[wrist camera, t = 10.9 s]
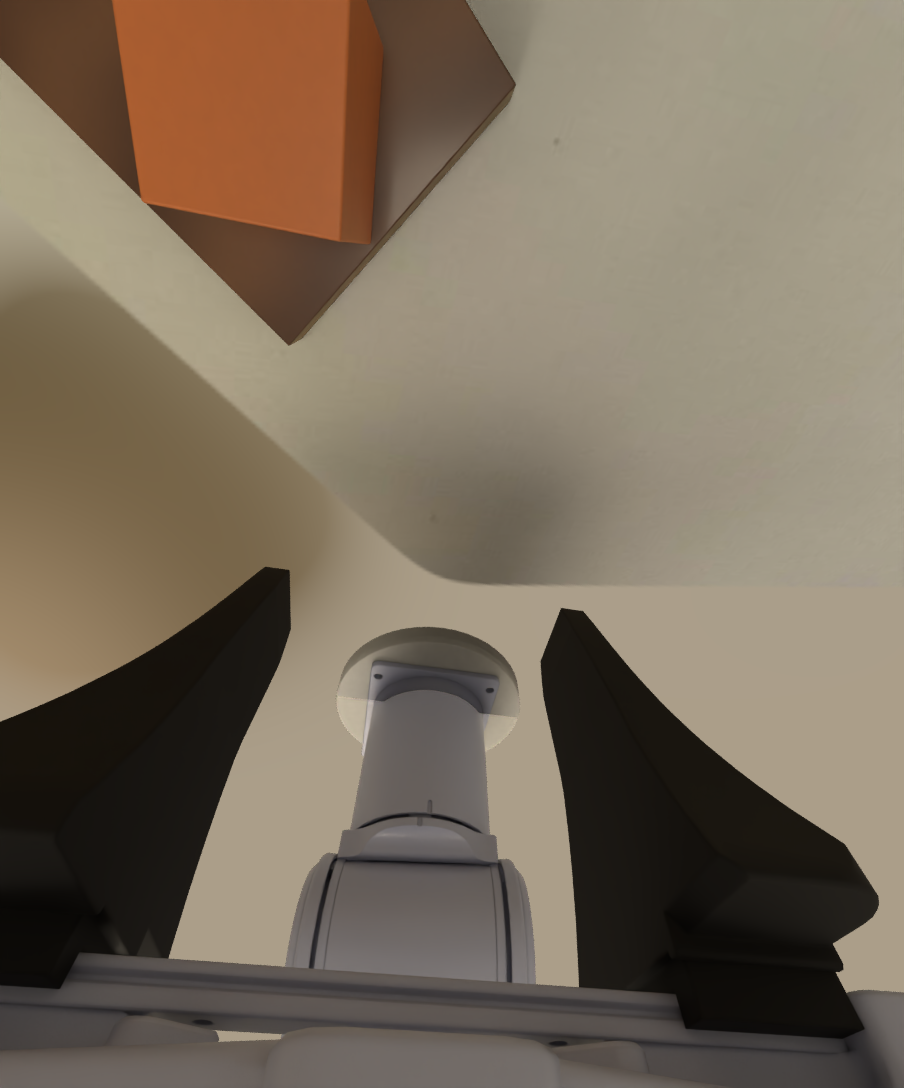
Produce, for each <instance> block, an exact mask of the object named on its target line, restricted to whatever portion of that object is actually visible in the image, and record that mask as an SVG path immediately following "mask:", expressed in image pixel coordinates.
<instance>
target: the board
mask: <svg viewBox="0 0 904 1088" xmlns="http://www.w3.org/2000/svg"><path fill="white" fill-rule="evenodd" d="M367 3H368V5H369V8H370V11H371V14H372V17H373V19H374V22H375V25H376V28H377V31H378V34H379V36H380V39H381V42H382V45H383V64H382V79H381V94H380V109H379V125H378V140H377V155H376V170H375V185H374V200H373V215H372V230H371V242H370V244H358V243H348V242H338V241H333V240H328V239H323V238H318V237H313V236H307V235H302V234H297V233H292V232H287V231H282V230H277V229H272V228H267V227H262V226H257V225H252V224H247V223H242V222H237V221H232V220H227V219H222V218H217V217H212V216H207V215H202V214H197V213H192V212H187V211H182V210H177V209H172V208H167V207H162V206H157V205H152V204H147V203H146V204H147V205H148V206H149V207H150V208H151V209H152V210H153V211H154V212H155V213H156V214H157V215H158V216H159V217H160V218H161V219H162V220H163V221H164V222H165V223H166V224H167V225H168V226H169V227H170V228H171V229H172V230H173V231H174V232H175V233H176V234H177V235H178V236H179V237H180V238H181V239H182V240H183V241H184V242H185V243H186V244H187V245H188V246H189V247H190V248H191V249H192V250H193V251H194V252H195V253H196V254H197V255H198V256H199V257H200V258H201V259H202V260H203V261H204V262H205V263H206V264H207V265H208V266H209V267H210V268H211V269H212V270H213V271H214V272H215V273H216V274H217V275H218V276H219V277H220V278H221V279H222V280H223V281H224V282H225V283H226V284H227V285H228V286H229V287H230V288H231V289H232V290H233V291H234V292H235V293H236V294H237V295H238V296H239V297H240V298H241V299H242V300H243V301H244V302H245V303H246V304H247V305H248V306H249V307H250V308H251V309H252V310H253V311H254V312H255V313H256V314H257V315H258V316H259V317H260V318H261V319H262V320H264V321H265V322H266V323H267V324H268V325H269V326H270V327H271V328H272V329H273V330H274V331H275V332H276V333H277V334H278V335H279V336H280V337H281V338H282V339H283V340H284V341H285V342H286V343H287V344H288V345H291V344H293V343H295V342H297V341H299V340H300V339H302V338H303V337H304V335H305V334H306V333H307V332H308V331H309V330H310V329H311V327H312V326H313V325H314V324H315V323H316V322H317V321H318V319H319V318H320V317H321V316H322V315H323V314H324V313H325V311H326V310H327V309H328V308H329V307H330V306H331V305H332V303H333V302H334V301H335V300H336V299H337V298H338V297H339V295H340V294H341V293H342V292H343V291H344V290H345V289H346V287H347V286H348V285H349V284H350V283H351V282H352V281H353V279H354V278H355V277H356V276H357V275H358V274H359V273H360V271H361V270H362V269H363V268H364V267H365V266H366V265H367V264H368V262H369V261H370V260H371V259H372V258H373V257H374V256H375V254H376V253H377V252H378V251H379V250H380V249H381V248H382V246H383V245H384V244H385V243H386V242H387V241H388V240H389V238H390V237H391V236H392V235H393V234H394V233H395V232H396V230H397V229H398V228H399V227H400V226H401V225H402V224H403V222H404V221H405V220H406V219H407V218H408V217H409V216H410V214H411V213H412V212H413V211H414V210H415V209H416V208H417V206H418V205H419V204H420V203H421V202H422V201H423V200H424V198H425V197H426V196H427V195H428V194H429V193H430V192H431V190H432V189H433V188H434V187H435V186H436V185H437V184H438V182H439V181H440V180H441V179H442V178H443V177H444V176H445V174H446V173H447V172H448V171H449V170H450V169H451V168H452V167H453V165H454V164H455V163H456V162H457V161H458V160H459V159H460V157H461V156H462V155H463V154H464V153H465V152H466V151H467V149H468V148H469V147H470V146H471V145H472V144H473V143H474V141H475V140H476V139H477V138H478V137H479V136H480V135H481V133H482V132H483V131H484V130H485V129H486V128H487V127H488V125H489V124H490V123H491V122H492V121H493V120H494V119H495V117H496V116H497V115H498V114H499V113H500V112H501V111H502V109H503V108H504V107H505V106H506V105H507V104H508V103H509V101H510V100H511V97H512V94H513V91H514V88H515V86H516V84H515V82H514V80H513V78H512V77H511V75H510V73H509V72H508V70H507V69H506V67H505V65H504V64H503V62H502V60H501V59H500V57H499V55H498V54H497V52H496V50H495V49H494V47H493V45H492V44H491V42H490V40H489V39H488V37H487V35H486V34H485V32H484V30H483V29H482V27H481V25H480V24H479V22H478V20H477V19H476V17H475V15H474V14H473V12H472V10H471V9H470V7H469V5H468V4H467V2H466V0H367ZM0 58H1V59H2V60H3V61H4V62H5V63H6V64H7V65H8V66H9V67H10V68H11V69H12V70H13V71H14V72H15V73H16V74H17V75H18V76H19V77H20V78H21V79H22V80H23V81H24V82H25V83H26V84H27V85H28V86H29V87H30V88H31V89H32V90H33V91H34V92H35V93H36V94H37V95H38V96H39V97H40V98H41V99H42V100H43V101H44V102H45V103H46V104H47V105H48V106H49V107H50V108H51V109H52V110H53V111H54V112H55V113H56V114H57V115H58V116H59V117H60V118H61V119H62V120H63V121H64V122H65V123H66V124H67V125H68V126H69V127H70V128H71V129H72V130H73V131H74V132H75V133H76V134H77V135H78V136H79V137H80V138H81V139H82V140H83V141H84V142H85V143H86V144H87V145H88V146H89V147H90V148H91V149H92V150H93V151H94V152H95V153H96V154H97V155H98V156H99V157H100V158H101V159H102V160H103V161H104V162H105V163H106V164H107V165H108V166H109V167H110V168H111V169H112V170H113V171H114V172H115V173H116V174H117V175H118V176H119V177H120V178H121V179H122V180H123V181H124V182H125V183H126V184H127V185H128V186H129V187H130V188H131V189H132V190H133V191H134V192H135V193H136V194H137V195H138V196H139V197H140V198H141V195H140V188H139V181H138V175H137V168H136V161H135V154H134V147H133V140H132V134H131V127H130V120H129V113H128V106H127V99H126V93H125V86H124V79H123V72H122V65H121V58H120V52H119V45H118V38H117V31H116V24H115V18H114V11H113V4H112V0H0Z"/></svg>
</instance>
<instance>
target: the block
mask: <svg viewBox="0 0 904 1088" xmlns="http://www.w3.org/2000/svg"><path fill="white" fill-rule="evenodd" d="M112 4H113V11H114V18H115V24H116V31H117V38H118V45H119V52H120V58H121V65H122V72H123V79H124V86H125V93H126V99H127V106H128V113H129V120H130V127H131V134H132V140H133V147H134V154H135V161H136V168H137V175H138V181H139V188H140V195H141V199H142V201H143V202H144V203H147V204H152V205H157V206H162V207H167V208H172V209H177V210H182V211H187V212H192V213H197V214H202V215H207V216H212V217H217V218H222V219H227V220H232V221H237V222H242V223H247V224H252V225H257V226H262V227H267V228H272V229H277V230H282V231H287V232H292V233H297V234H302V235H307V236H313V237H318V238H323V239H328V240H333V241H338V242H348V243H358V244H370V242H371V230H372V215H373V200H374V185H375V170H376V155H377V140H378V125H379V109H380V94H381V79H382V64H383V45H382V42H381V39H380V36H379V34H378V31H377V28H376V25H375V22H374V19H373V17H372V14H371V11H370V8H369V5H368V3H367V0H112Z"/></svg>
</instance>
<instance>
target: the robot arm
mask: <svg viewBox="0 0 904 1088" xmlns="http://www.w3.org/2000/svg"><path fill="white" fill-rule="evenodd" d="M290 630H291V617H290V572H289V570H285V569H278V568H270V567H264V568H263V569H262V570H260V571H259V572H258V573H256V574H255V575H254V576H253V577H251V578H250V579H249V580H248V581H246V582H245V583H244V584H243V585H241V586H240V587H239V588H238V589H236V590H235V591H234V592H233V593H231V594H230V595H229V596H227V597H226V598H225V599H224V600H222V601H221V602H220V603H218V604H217V605H216V606H214V607H213V608H212V609H211V610H209V611H208V612H206V613H205V614H204V615H202V616H201V617H200V618H198V619H197V620H195V621H194V622H192V623H191V624H189V625H188V626H187V627H185V628H184V629H182V630H181V631H179V632H178V633H176V634H175V635H173V636H172V637H170V638H169V639H167V640H166V641H164V642H163V643H161V644H160V645H158V646H156V647H155V648H153V649H151V650H150V651H148V652H146V653H145V654H143V655H141V656H139V657H138V658H136V659H134V660H132V661H131V662H129V663H127V664H125V665H123V666H121V667H120V668H118V669H116V670H114V671H112V672H110V673H108V674H106V675H104V676H102V677H100V678H98V679H96V680H94V681H92V682H90V683H88V684H86V685H84V686H82V687H80V688H78V689H76V690H74V691H71V692H69V693H67V694H65V695H63V696H60V697H58V698H56V699H54V700H51V701H49V702H47V703H45V704H42V705H40V706H38V707H35V708H33V709H31V710H28V711H26V712H23V713H21V714H18V715H16V716H14V717H11V718H9V719H6V720H3V721H1V722H0V1088H904V993H903V992H889V991H875V990H858V991H853V992H848V993H846V992H845V990H844V988H843V986H842V984H841V982H840V980H839V978H838V976H837V974H836V972H840V971H842V970H843V963H842V961H841V959H840V957H839V955H838V953H837V951H836V950H835V948H834V946H833V943H834V942H836V941H838V940H839V939H840V938H842V937H844V936H845V935H847V934H849V933H850V932H852V931H854V930H855V929H857V928H858V927H860V926H861V925H863V924H864V923H866V922H867V921H868V920H869V919H871V918H872V917H873V916H874V914H875V912H876V911H877V909H878V906H879V900H878V895H877V893H876V892H875V890H874V889H873V887H872V886H871V884H870V882H869V881H868V879H867V878H866V876H865V875H864V873H863V872H862V870H861V869H860V867H859V866H858V864H857V862H856V861H855V859H854V858H853V856H852V855H851V853H850V852H849V850H848V848H847V847H846V846H845V844H844V843H842V842H840V841H839V840H838V839H836V838H835V837H833V836H831V835H830V834H828V833H827V832H825V831H824V830H822V829H821V828H819V827H818V826H816V825H814V824H813V823H811V822H810V821H808V820H807V819H805V818H804V817H802V816H801V815H799V814H797V813H796V812H794V811H793V810H791V809H790V808H788V807H787V806H786V805H784V804H783V803H781V802H780V801H779V800H777V799H776V798H774V797H773V796H772V795H770V794H769V793H767V792H766V791H765V790H763V789H762V788H760V787H759V786H758V785H756V784H755V783H754V782H752V781H751V780H750V779H748V778H747V777H746V776H744V775H743V774H742V773H740V772H739V771H738V770H736V769H735V768H734V767H733V766H732V765H730V764H729V763H728V762H727V761H725V760H724V759H723V758H722V757H721V756H719V755H718V754H717V753H716V752H715V751H713V750H712V749H711V748H710V747H708V746H707V745H706V744H705V743H704V742H703V741H701V740H700V739H699V738H698V737H697V736H696V735H695V734H694V733H693V732H691V731H690V730H689V729H688V728H687V727H686V726H685V725H684V724H683V723H682V722H681V721H680V720H679V719H678V718H677V717H675V716H674V715H673V714H672V713H671V712H670V711H669V710H668V709H667V708H666V707H665V706H664V705H663V704H662V703H661V702H660V701H659V700H658V699H657V697H656V696H655V695H654V694H653V693H652V692H651V691H650V690H649V689H648V688H647V687H646V686H645V685H644V683H643V682H642V681H641V680H640V679H639V678H638V677H637V676H636V675H635V673H634V672H633V671H632V670H631V669H630V668H629V666H628V665H627V664H626V663H625V662H624V661H623V659H622V658H621V657H620V656H619V655H618V653H617V652H616V651H615V650H614V649H613V647H612V646H611V645H610V644H609V642H608V641H607V640H606V639H605V637H604V636H603V635H602V634H601V632H600V631H599V630H598V629H597V628H596V626H595V625H594V624H593V622H592V621H591V620H590V619H589V618H588V616H587V615H586V614H585V613H584V612H583V611H578V610H571V609H564V608H561V610H560V612H559V615H558V618H557V620H556V623H555V626H554V628H553V631H552V633H551V636H550V638H549V641H548V644H547V646H546V649H545V651H544V654H543V657H542V659H541V675H542V686H543V696H544V701H545V706H546V711H547V715H548V720H549V725H550V730H551V734H552V739H553V743H554V748H555V752H556V757H557V761H558V766H559V770H560V775H561V780H562V786H563V792H564V799H565V807H566V816H567V824H568V833H569V843H570V854H571V863H572V875H573V888H574V901H575V915H576V932H577V951H578V970H579V987H566V986H552V985H538V984H536V982H535V981H536V978H535V952H534V938H533V927H532V918H531V911H530V903H529V898H528V893H527V888H526V885H525V881H524V879H523V877H522V875H521V874H520V873H519V872H518V870H517V869H516V868H515V866H514V864H513V862H512V861H511V860H509V859H500V860H498V854H497V839H496V836H495V835H490V830H489V812H488V796H487V795H488V794H487V777H486V760H485V742H484V731H485V728H486V725H487V722H488V718H489V715H490V712H491V709H492V706H493V703H494V700H495V697H496V694H497V691H498V688H499V678H498V677H497V676H494V675H489V674H481V673H473V672H465V671H457V670H449V669H441V668H434V667H426V666H418V665H410V664H402V663H394V662H386V661H375V662H374V663H373V664H372V667H371V673H370V682H369V691H368V700H367V709H366V718H365V727H364V736H363V746H362V756H363V757H364V759H363V764H362V769H361V776H360V780H359V786H358V791H357V797H356V802H355V807H354V813H353V819H352V824H351V829H350V830H344V831H343V832H342V836H341V842H340V847H339V852H338V854H333V853H326V854H325V855H323V857H322V858H321V859H320V861H319V862H318V863H317V864H316V865H315V866H314V867H313V868H312V869H311V871H310V872H309V874H308V876H307V878H306V880H305V883H304V885H303V888H302V891H301V895H300V898H299V902H298V905H297V909H296V913H295V917H294V921H293V926H292V931H291V935H290V941H289V946H288V952H287V958H286V965H285V967H280V966H266V965H251V964H238V963H237V964H236V963H223V962H209V961H195V960H180V959H168V958H169V954H170V951H171V947H172V944H173V941H174V938H175V934H176V931H177V928H178V925H179V921H180V918H181V915H182V912H183V909H184V905H185V902H186V899H187V895H188V892H189V889H190V886H191V883H192V880H193V877H194V874H195V871H196V868H197V865H198V862H199V859H200V856H201V853H202V849H203V847H204V844H205V841H206V837H207V835H208V832H209V829H210V826H211V823H212V820H213V818H214V815H215V811H216V809H217V806H218V803H219V800H220V797H221V795H222V792H223V789H224V786H225V784H226V781H227V778H228V775H229V773H230V770H231V767H232V765H233V762H234V759H235V757H236V754H237V752H238V750H239V747H240V745H241V743H242V740H243V739H244V736H245V734H246V732H247V730H248V728H249V726H250V724H251V722H252V720H253V718H254V716H255V714H256V712H257V709H258V707H259V705H260V703H261V701H262V699H263V697H264V695H265V693H266V691H267V689H268V687H269V684H270V682H271V680H272V678H273V676H274V674H275V672H276V670H277V667H278V665H279V663H280V660H281V657H282V654H283V651H284V648H285V645H286V642H287V639H288V636H289V633H290ZM378 673H379V674H380V675H379V674H378ZM490 687H491V688H490ZM213 1030H220V1031H221V1030H222V1031H238V1032H255V1033H272V1034H282V1036H281V1039H280V1040H258V1041H257V1040H256V1041H230V1042H218V1041H219V1037H218V1035H217V1032H216V1031H213Z"/></svg>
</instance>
